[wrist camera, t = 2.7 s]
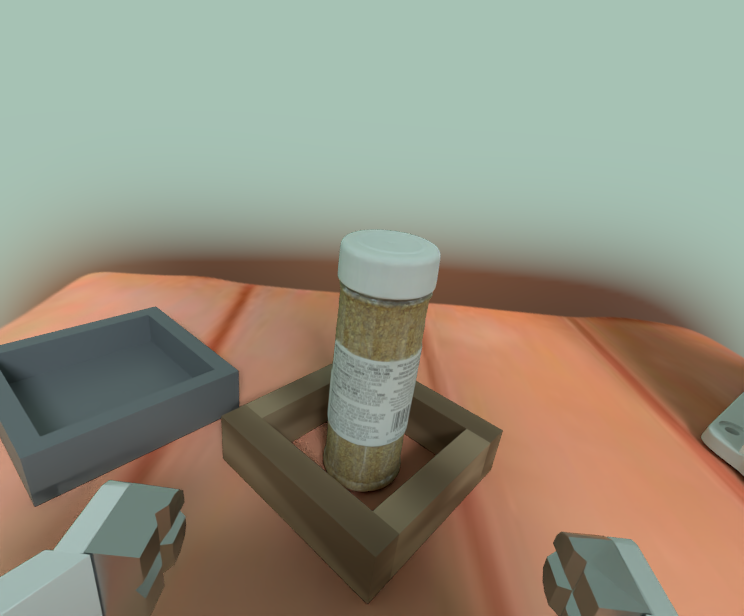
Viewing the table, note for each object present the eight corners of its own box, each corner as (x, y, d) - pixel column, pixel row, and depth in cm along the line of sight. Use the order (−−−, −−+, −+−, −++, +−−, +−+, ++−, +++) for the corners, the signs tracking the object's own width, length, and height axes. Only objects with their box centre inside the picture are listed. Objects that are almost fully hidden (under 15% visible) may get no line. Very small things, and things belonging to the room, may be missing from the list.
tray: (159, 340, 35) (155, 306, 33) (239, 409, 28) (238, 370, 27) (-21, 395, 27) (-35, 354, 26) (34, 506, 21) (20, 459, 19)
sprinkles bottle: (361, 426, 28) (388, 222, 23) (416, 468, 26) (462, 248, 20) (305, 460, 25) (319, 232, 19) (360, 511, 23) (396, 265, 17)
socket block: (357, 384, 32) (361, 349, 31) (490, 469, 26) (502, 430, 25) (222, 458, 25) (221, 415, 23) (367, 604, 18) (375, 557, 17)
